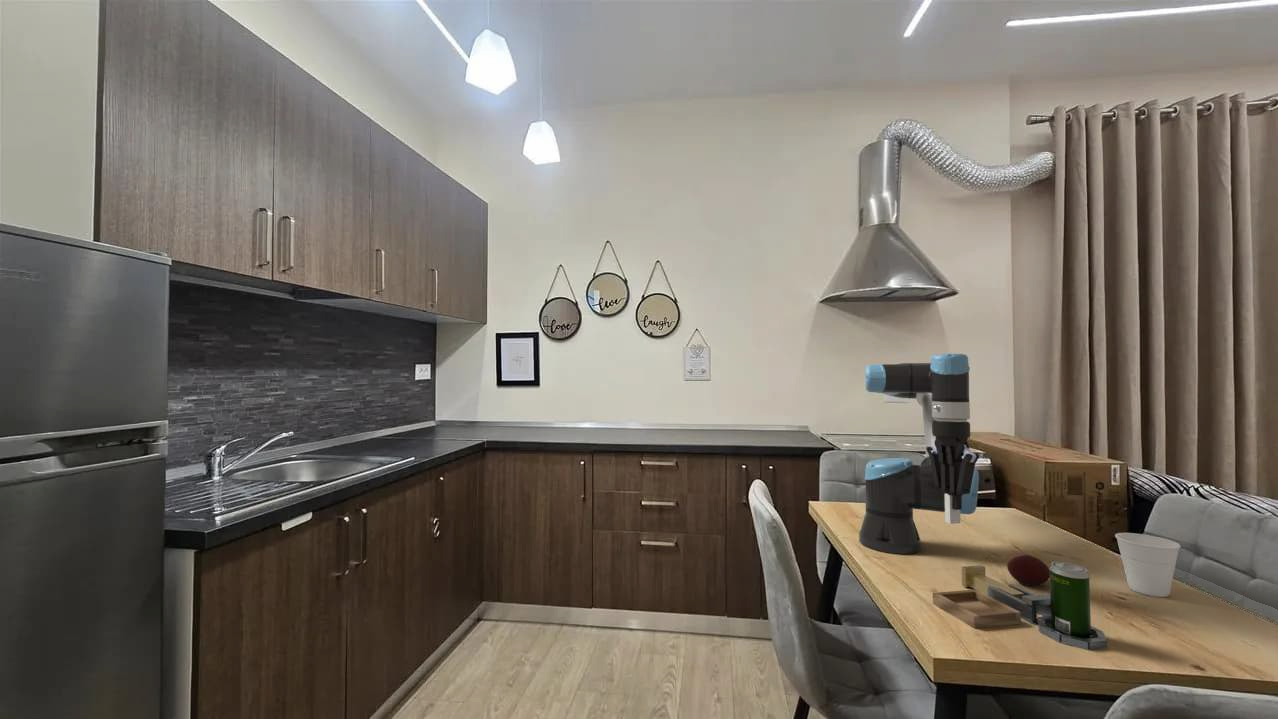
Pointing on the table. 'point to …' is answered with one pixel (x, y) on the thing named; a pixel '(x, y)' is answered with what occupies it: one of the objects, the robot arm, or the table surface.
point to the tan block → (984, 581)
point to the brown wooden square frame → (976, 608)
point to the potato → (1028, 570)
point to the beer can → (1070, 600)
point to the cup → (1148, 562)
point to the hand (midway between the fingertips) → (952, 522)
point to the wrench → (1044, 617)
